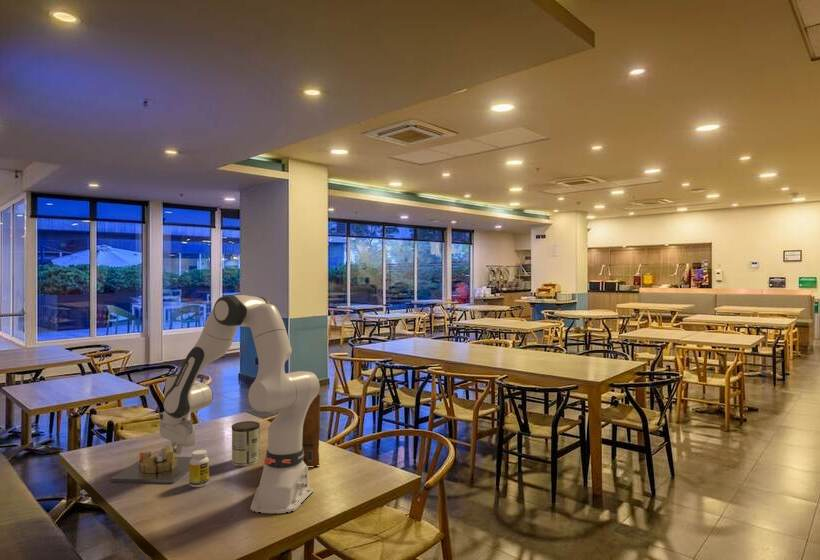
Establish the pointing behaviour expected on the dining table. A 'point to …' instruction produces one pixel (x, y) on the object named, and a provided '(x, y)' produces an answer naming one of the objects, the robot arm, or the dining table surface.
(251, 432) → the coffee can
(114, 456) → the dining table surface
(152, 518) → the dining table surface
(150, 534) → the dining table surface
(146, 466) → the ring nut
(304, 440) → the pancake mix bag
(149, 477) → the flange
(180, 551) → the dining table surface
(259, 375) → the robot arm
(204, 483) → the pill bottle
